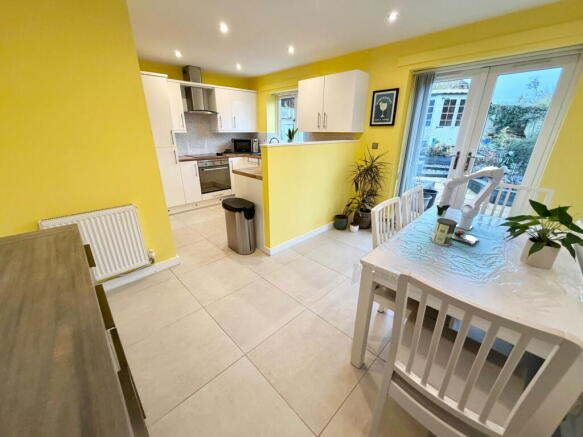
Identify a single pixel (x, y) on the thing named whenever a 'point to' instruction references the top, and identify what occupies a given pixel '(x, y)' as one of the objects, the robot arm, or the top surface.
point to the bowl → (442, 214)
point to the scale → (458, 238)
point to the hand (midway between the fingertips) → (441, 214)
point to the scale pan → (468, 237)
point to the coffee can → (444, 231)
